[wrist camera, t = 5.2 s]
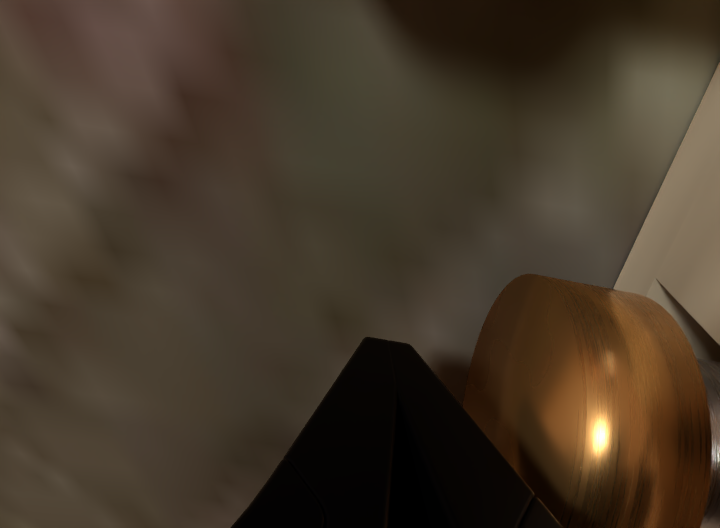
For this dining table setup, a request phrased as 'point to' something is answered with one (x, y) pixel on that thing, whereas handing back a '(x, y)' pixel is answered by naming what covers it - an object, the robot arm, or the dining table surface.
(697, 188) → the beech block
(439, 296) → the dining table surface
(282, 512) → the robot arm
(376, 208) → the dining table surface
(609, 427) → the knob outer
